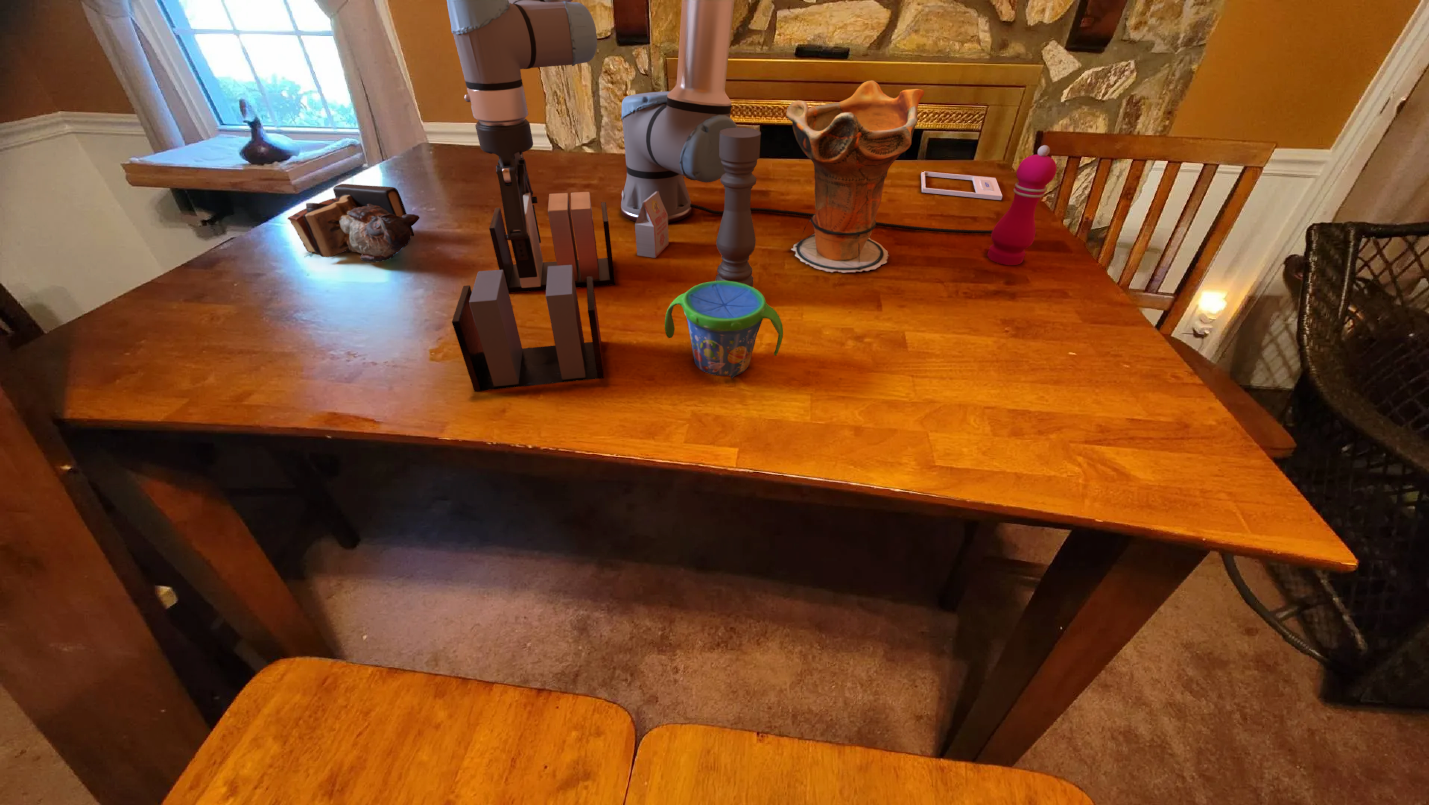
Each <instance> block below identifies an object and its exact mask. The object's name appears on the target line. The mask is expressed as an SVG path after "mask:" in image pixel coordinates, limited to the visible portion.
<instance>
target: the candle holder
mask: <svg viewBox="0 0 1429 805" xmlns="http://www.w3.org/2000/svg"><path fill="white" fill-rule="evenodd" d="M761 135H762V132H761V130H757V129H755V128H750V127H739V126H737V128H727V129H723V130H721V131H720V141H719V157H720V158H721V164H722V165H723V167H724V170H725V174H723V175H722V176H721V178H720V179H719V180H720V184H722V186H723V188H724V208H723V211H724V212H723V215H722V216H721V220H720V224H719V228H718V233H717V237H716V242H715V246H716V249H717V250H718V253H719V254H720V257H721V260H722V261H721V262H720V264H719V265H718V266H717V269H716V270H717V271H716V272H717V274H716V276H715V281H732V282H738V283H743V284H746V285H749V286H751V287H753V288H754V278H755V277H754V276H753V270H754V269H753V267H752V266H751V264H750V263H749V261H750V257H751V255H752V254H753V252H754V250H755V248H756V245H757V244H756V243H757V242H756V241H757V238H756V233H755V227H754V222H753V217H752V211H751V209H750V208H751V203H752V202H751V201H752V200H751V199H752V189H753V187H754V186H755V185H756V183H757V177H756V176H755V175H754V174H753V172H754V170H755V167H756V166H757V165H758V160H759V159H760V154H761V153H760V152H761Z"/></svg>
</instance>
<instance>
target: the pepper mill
mask: <svg viewBox="0 0 1429 805" xmlns="http://www.w3.org/2000/svg"><path fill="white" fill-rule="evenodd" d="M1050 151H1051V148H1050V146H1048V145H1046V144H1044V145H1041V146H1040V147H1039V148H1038V149H1037V154H1036V153H1035V154H1031V155H1029V156H1027V157H1025V158H1024V159H1022V161H1021V162H1020V163H1019V165H1018V167H1017V168H1016V179H1017V182H1016V183H1015V184H1014V188H1013V190H1012V191H1013V193H1014V195H1013V199H1012V202H1011V204H1010V207H1009V208H1008V210H1007V211H1006V212H1005V214H1004V215H1003V216H1002V217H1001V218H1000V219H999V220H998V222H997V223H996V224H995V225H994V227H993V229H992V230H993V231H992V234H990V238H991V241H992V243H993V244H991V245H990V246H989V248H988V251H987V254H986V257H987V258H988V259H989V260H991V261H992V262H994V263H997V264H1000V265H1005V266H1017V265H1020V264H1022V263H1023V262H1024V259H1025V256H1026V251H1025V250H1026V249H1028V248H1029V247H1030V246H1032V245H1033V243H1034V241H1035V236H1036V230H1037V229H1036V221H1035V220H1036V219H1035V216H1036V215H1035V214H1036V210H1037V209H1036V208H1037V206H1038V204H1039V201H1040V199H1041V198H1042V197H1045V192H1046V191H1047V184H1050V183H1051V182H1052V181H1053V180H1054V178H1055V177H1056V174H1057V170H1058V169H1057V163H1056V161H1055V160H1054V158H1052V157H1051V156H1049V154H1050Z"/></svg>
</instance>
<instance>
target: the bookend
mask: <svg viewBox="0 0 1429 805" xmlns="http://www.w3.org/2000/svg"><path fill="white" fill-rule="evenodd" d="M332 191H333V194H334V197H333V198H329V199H327V200H323V201H321V202H318V203H317V202H306V203H305V208H303V209H302V210H299V211H297V212H295V213H294V214H293V215H292V214H291V216H288V217H287V220H289V222H290V224H291V225H292V227H293V228H294V230H295V232H296V234H297V236H298V237H299V239H300V240H301V243H302V246H303V247H304V248H305V250H306V251H307V252H308V253H315V254H316V255H317V254H318V255H319V256H320V257H322V258H332V257H334V256H335V255H338V254H341V253H345V252H346V253H351V252H352V253H358V254H360V259H361V261H362V262H366V263H368V262H369V263H381V262H385V261H390V259H392V258H394V257H395V256H396V255H397V254H398V253H400V252H401V251H402V249H403V248H405V247H406V246H408V244H409V242H410V240H411V238H412V237H414V236H415V232H414V230H413V226H414V225H415V224H417V222H418V221H419V220H420V218H421V217H420V216H419V215H418V214H413V213H407V211H406V207H405V205H404V202H403V200H402V197H401V194H400V191H399V190H398V189H397V188H396V187H394V186H386V185H385V186H384V185H383V186H381V185H366V184H353V183H341V184H337V185H335V186H334V187H333V188H332Z"/></svg>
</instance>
